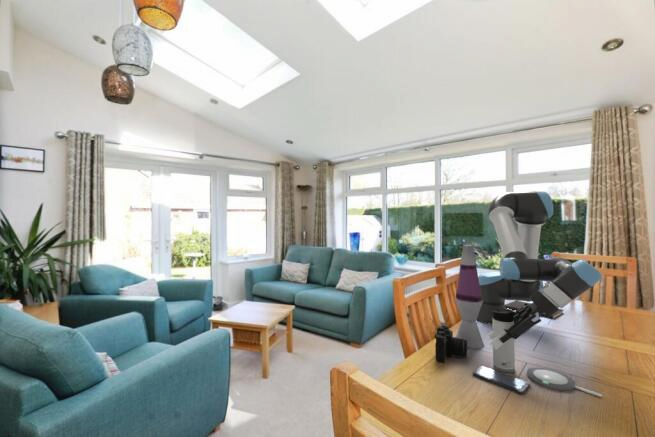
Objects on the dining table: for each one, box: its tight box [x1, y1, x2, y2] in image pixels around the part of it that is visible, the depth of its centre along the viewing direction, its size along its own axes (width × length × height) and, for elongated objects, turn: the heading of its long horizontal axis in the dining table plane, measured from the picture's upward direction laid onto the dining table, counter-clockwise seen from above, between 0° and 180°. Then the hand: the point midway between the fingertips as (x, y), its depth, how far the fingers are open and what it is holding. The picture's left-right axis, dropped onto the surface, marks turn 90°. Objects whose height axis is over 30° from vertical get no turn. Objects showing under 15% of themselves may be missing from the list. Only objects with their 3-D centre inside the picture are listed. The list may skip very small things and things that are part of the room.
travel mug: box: [492, 309, 516, 374], centre depth 99 cm, size 6×7×20 cm
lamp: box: [454, 244, 485, 350], centre depth 120 cm, size 11×11×40 cm
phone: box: [472, 365, 531, 396], centre depth 92 cm, size 14×7×1 cm, turn 40°
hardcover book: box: [505, 300, 564, 320], centre depth 161 cm, size 16×23×2 cm
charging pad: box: [526, 366, 603, 398], centre depth 90 cm, size 18×12×1 cm
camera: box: [433, 324, 468, 364], centre depth 108 cm, size 14×11×10 cm
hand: (491, 341), depth 101 cm, fingers closed on travel mug, 6 cm apart
